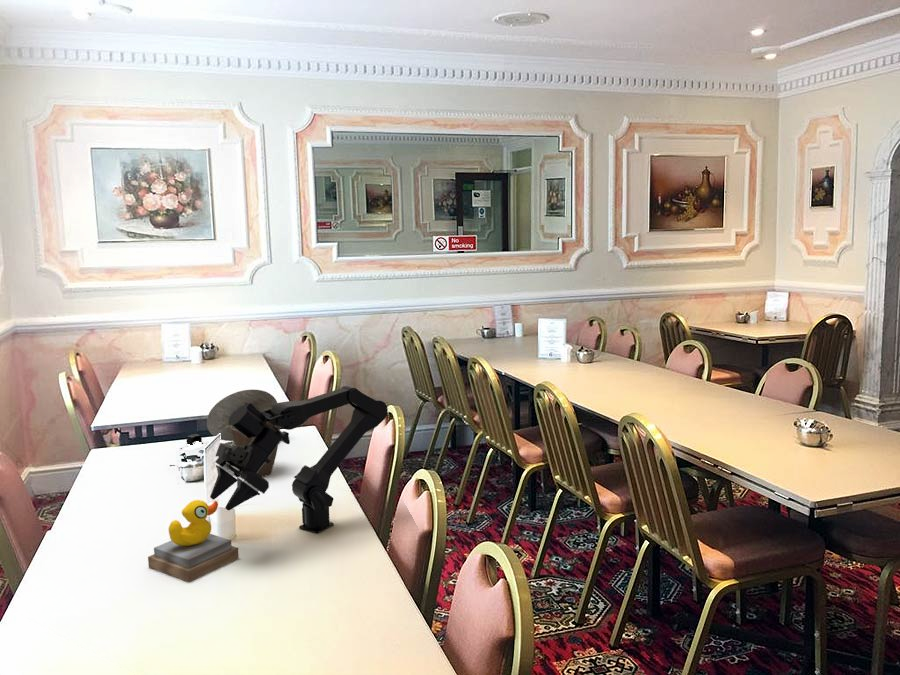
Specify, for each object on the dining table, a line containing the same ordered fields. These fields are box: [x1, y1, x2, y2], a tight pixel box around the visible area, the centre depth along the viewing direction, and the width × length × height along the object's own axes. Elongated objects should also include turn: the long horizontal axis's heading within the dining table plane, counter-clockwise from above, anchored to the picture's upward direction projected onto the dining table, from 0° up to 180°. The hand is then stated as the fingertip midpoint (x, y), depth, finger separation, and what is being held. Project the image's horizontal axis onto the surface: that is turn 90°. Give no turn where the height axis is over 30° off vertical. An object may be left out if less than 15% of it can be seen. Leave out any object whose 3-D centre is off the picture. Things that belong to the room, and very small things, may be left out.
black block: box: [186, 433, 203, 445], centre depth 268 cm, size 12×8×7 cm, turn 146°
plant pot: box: [231, 422, 281, 477], centre depth 236 cm, size 15×15×16 cm
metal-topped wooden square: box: [147, 533, 240, 583], centre depth 174 cm, size 14×14×4 cm
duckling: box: [168, 499, 219, 546], centre depth 174 cm, size 11×5×10 cm, turn 127°
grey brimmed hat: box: [206, 389, 278, 446], centre depth 264 cm, size 25×18×25 cm
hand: (219, 503), depth 177 cm, fingers open, 9 cm apart
